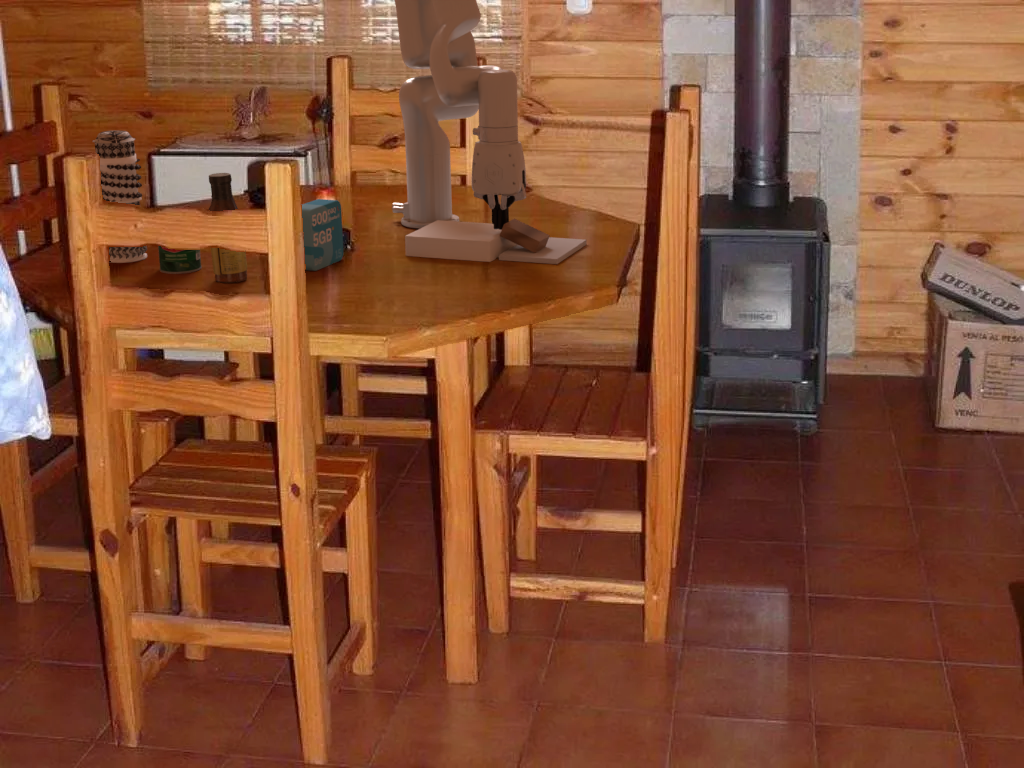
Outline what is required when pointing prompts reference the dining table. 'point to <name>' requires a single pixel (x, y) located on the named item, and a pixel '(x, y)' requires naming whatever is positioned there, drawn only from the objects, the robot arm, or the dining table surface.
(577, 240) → the mat
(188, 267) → the canned tomato
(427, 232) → the deck
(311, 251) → the data package
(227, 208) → the sauce bottle
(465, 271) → the dining table surface
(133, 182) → the decorative candle
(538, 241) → the tile
